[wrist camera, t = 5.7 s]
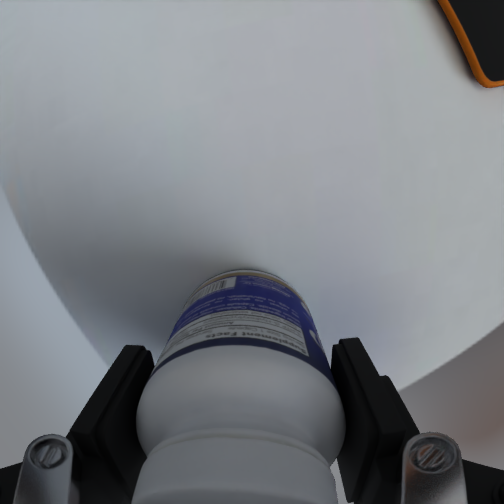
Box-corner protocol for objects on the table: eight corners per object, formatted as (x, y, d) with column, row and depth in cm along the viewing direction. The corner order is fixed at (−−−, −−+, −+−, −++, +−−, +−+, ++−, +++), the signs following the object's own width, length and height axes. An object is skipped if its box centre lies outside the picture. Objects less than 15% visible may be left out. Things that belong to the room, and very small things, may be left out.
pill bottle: (303, 381, 13) (337, 565, 5) (185, 376, 13) (132, 554, 5) (318, 268, 12) (420, 452, 3) (179, 262, 12) (55, 432, 3)
